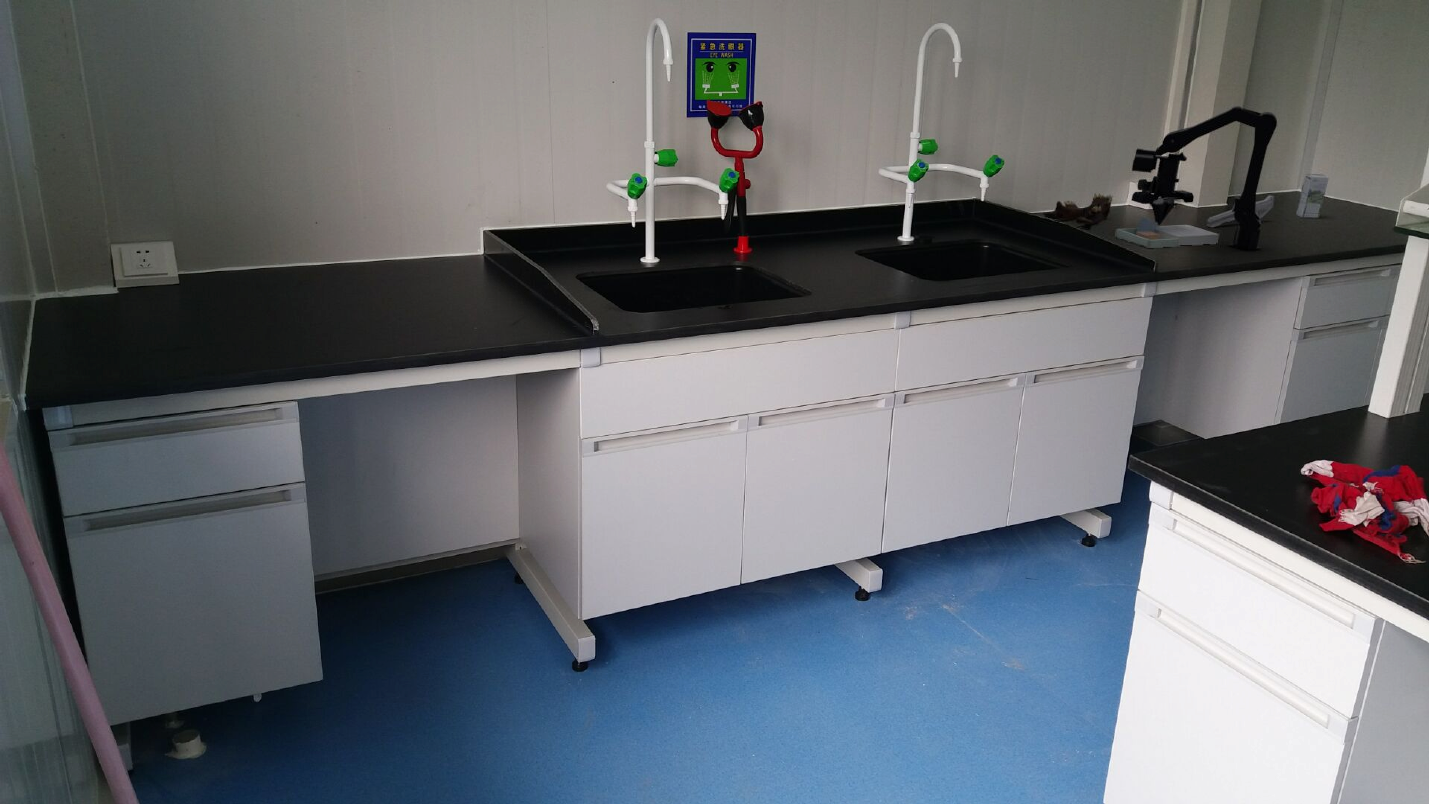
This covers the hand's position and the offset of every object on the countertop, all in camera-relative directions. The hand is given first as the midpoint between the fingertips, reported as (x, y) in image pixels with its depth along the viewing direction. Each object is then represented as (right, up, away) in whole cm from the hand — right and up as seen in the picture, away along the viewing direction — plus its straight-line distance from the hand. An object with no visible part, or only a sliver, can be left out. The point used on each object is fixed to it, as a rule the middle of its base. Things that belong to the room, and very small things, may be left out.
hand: (1157, 224), depth 337 cm
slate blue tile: (-3, -1, 0) cm, 3 cm away
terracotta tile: (-6, -4, -7) cm, 10 cm away
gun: (+37, +4, +24) cm, 44 cm away
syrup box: (+68, +9, +39) cm, 79 cm away
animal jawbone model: (-15, +3, +21) cm, 26 cm away
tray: (-5, -6, -4) cm, 9 cm away
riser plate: (+7, -5, 0) cm, 9 cm away
